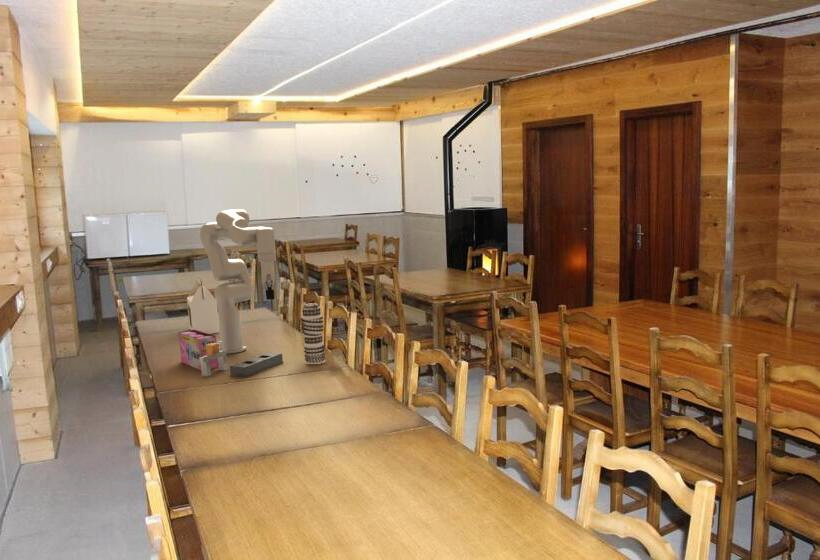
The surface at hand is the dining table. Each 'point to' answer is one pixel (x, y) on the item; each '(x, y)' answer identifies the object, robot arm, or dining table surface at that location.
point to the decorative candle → (313, 333)
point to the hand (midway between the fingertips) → (270, 297)
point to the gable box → (202, 309)
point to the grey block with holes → (256, 364)
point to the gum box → (195, 348)
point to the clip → (213, 354)
